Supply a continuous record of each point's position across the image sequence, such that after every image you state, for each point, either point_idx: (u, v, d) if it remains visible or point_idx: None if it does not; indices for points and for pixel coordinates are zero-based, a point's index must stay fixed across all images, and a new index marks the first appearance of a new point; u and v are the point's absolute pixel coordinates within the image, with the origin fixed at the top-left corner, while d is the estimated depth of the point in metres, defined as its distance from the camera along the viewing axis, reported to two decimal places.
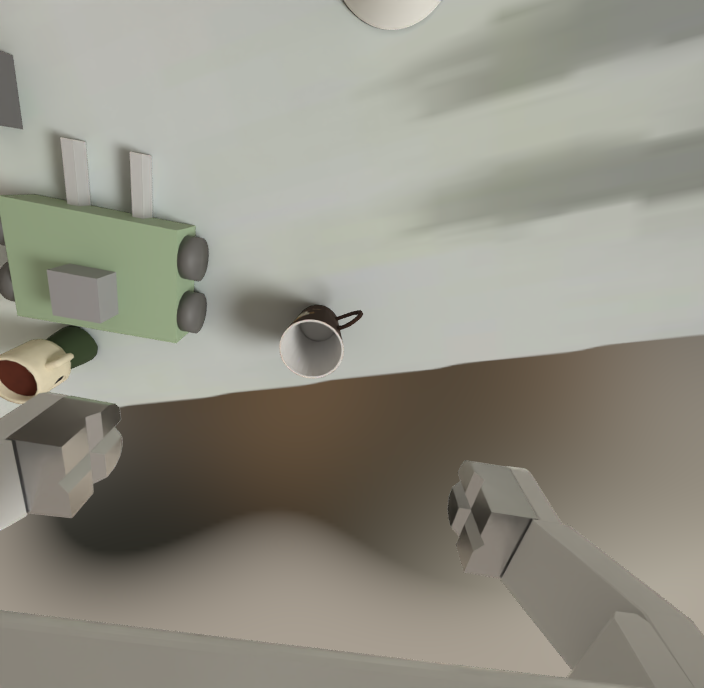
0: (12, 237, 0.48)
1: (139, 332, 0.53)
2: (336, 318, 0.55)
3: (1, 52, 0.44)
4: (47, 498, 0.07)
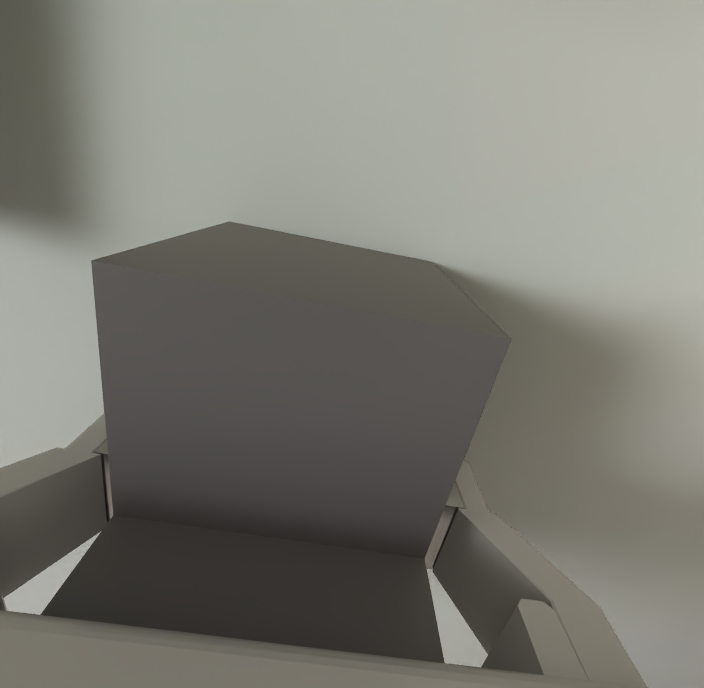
0: None
1: None
2: None
3: None
4: None
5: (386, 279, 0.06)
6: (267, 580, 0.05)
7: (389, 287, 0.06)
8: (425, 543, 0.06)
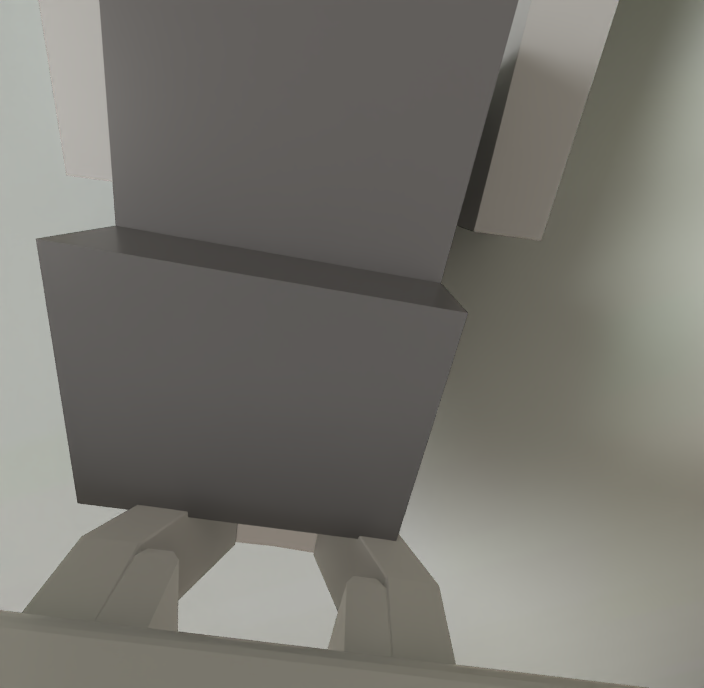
0: None
1: None
2: None
3: None
4: (257, 528, 0.07)
5: None
6: (277, 264, 0.05)
7: None
8: (441, 259, 0.06)
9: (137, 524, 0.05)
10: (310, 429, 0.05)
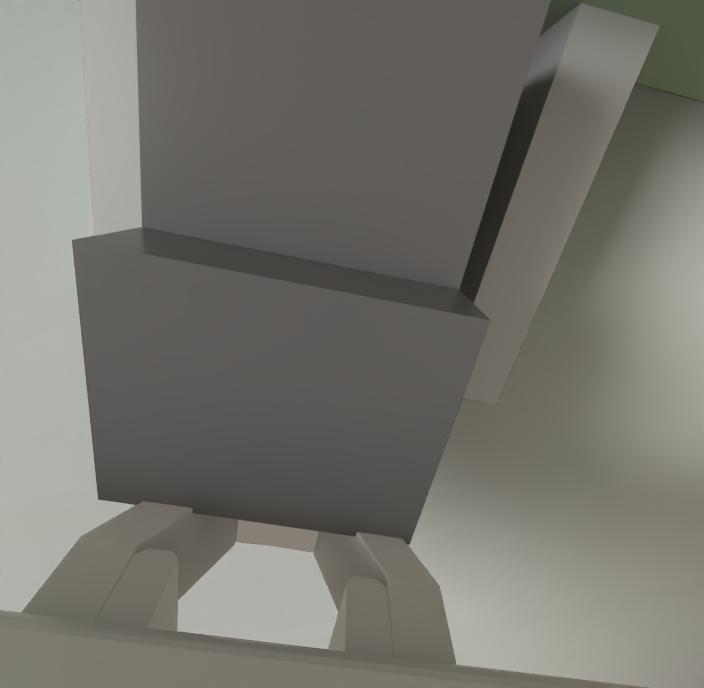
0: None
1: None
2: None
3: None
4: (257, 528, 0.07)
5: None
6: (302, 268, 0.05)
7: None
8: (461, 265, 0.06)
9: (137, 524, 0.05)
10: (331, 430, 0.05)
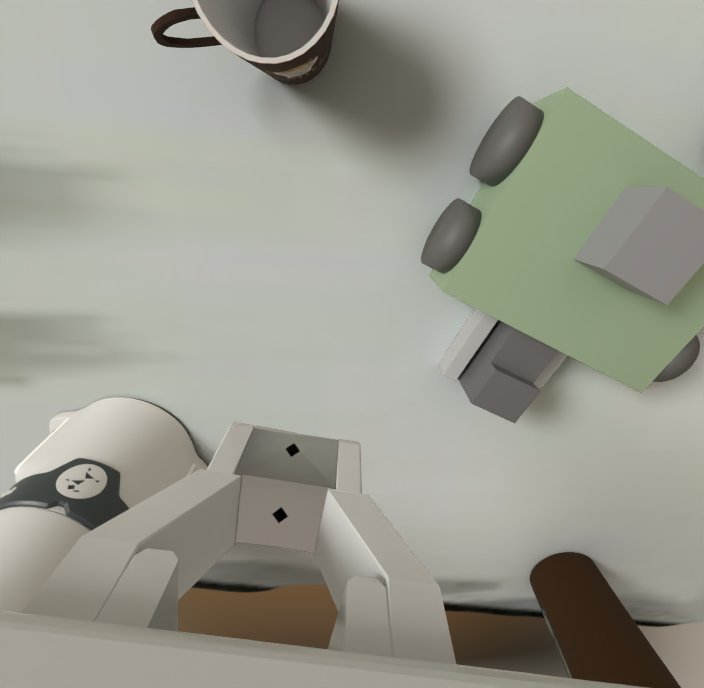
0: (672, 345, 0.33)
1: (618, 136, 0.26)
2: None
3: (459, 377, 0.39)
4: (257, 528, 0.07)
5: None
6: (515, 376, 0.35)
7: None
8: (535, 380, 0.35)
9: (137, 524, 0.05)
10: (513, 400, 0.35)
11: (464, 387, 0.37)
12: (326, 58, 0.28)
